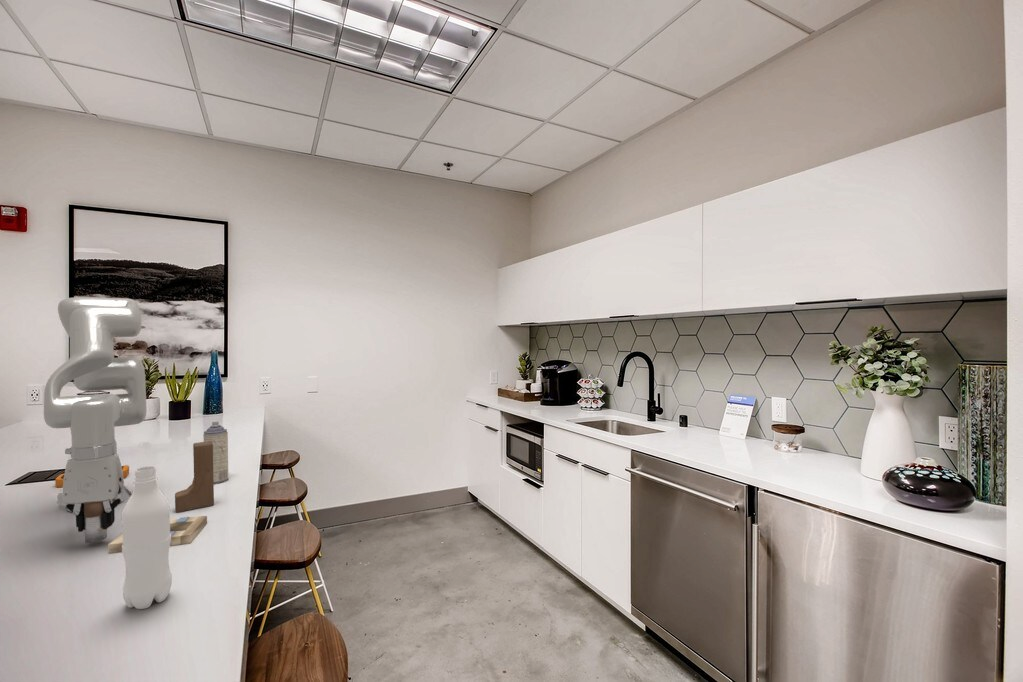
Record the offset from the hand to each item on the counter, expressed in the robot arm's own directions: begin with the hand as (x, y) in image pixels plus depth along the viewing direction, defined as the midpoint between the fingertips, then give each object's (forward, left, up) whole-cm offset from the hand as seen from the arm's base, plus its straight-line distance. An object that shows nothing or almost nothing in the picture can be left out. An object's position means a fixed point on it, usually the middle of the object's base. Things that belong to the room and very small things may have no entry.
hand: (95, 527), depth 109 cm
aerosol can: (+13, +44, -4) cm, 46 cm away
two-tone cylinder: (0, 0, -3) cm, 3 cm away
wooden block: (+14, +20, -4) cm, 25 cm away
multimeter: (-27, +57, -5) cm, 64 cm away
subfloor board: (+13, 0, -4) cm, 14 cm away
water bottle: (+22, -31, -4) cm, 39 cm away
